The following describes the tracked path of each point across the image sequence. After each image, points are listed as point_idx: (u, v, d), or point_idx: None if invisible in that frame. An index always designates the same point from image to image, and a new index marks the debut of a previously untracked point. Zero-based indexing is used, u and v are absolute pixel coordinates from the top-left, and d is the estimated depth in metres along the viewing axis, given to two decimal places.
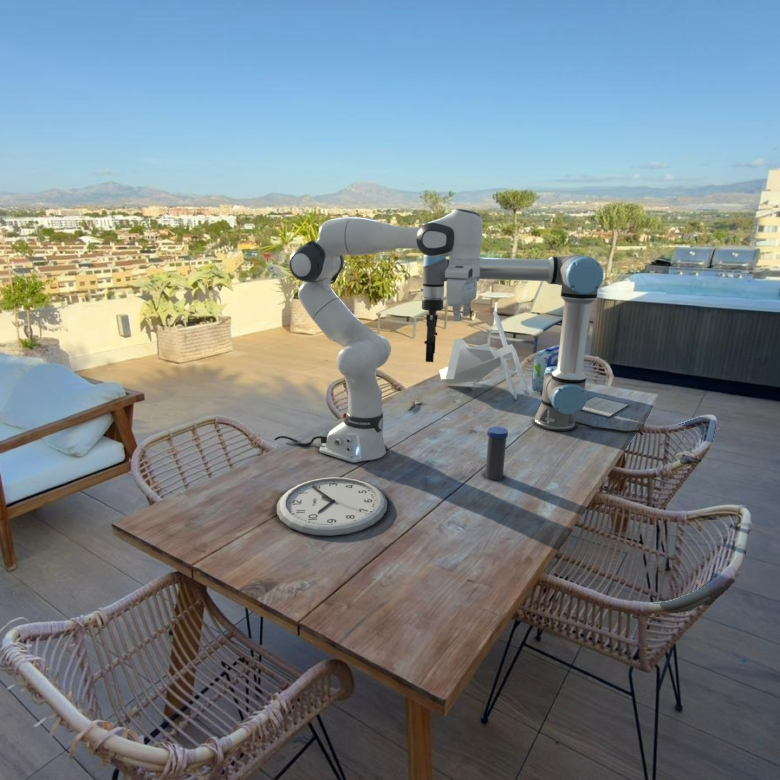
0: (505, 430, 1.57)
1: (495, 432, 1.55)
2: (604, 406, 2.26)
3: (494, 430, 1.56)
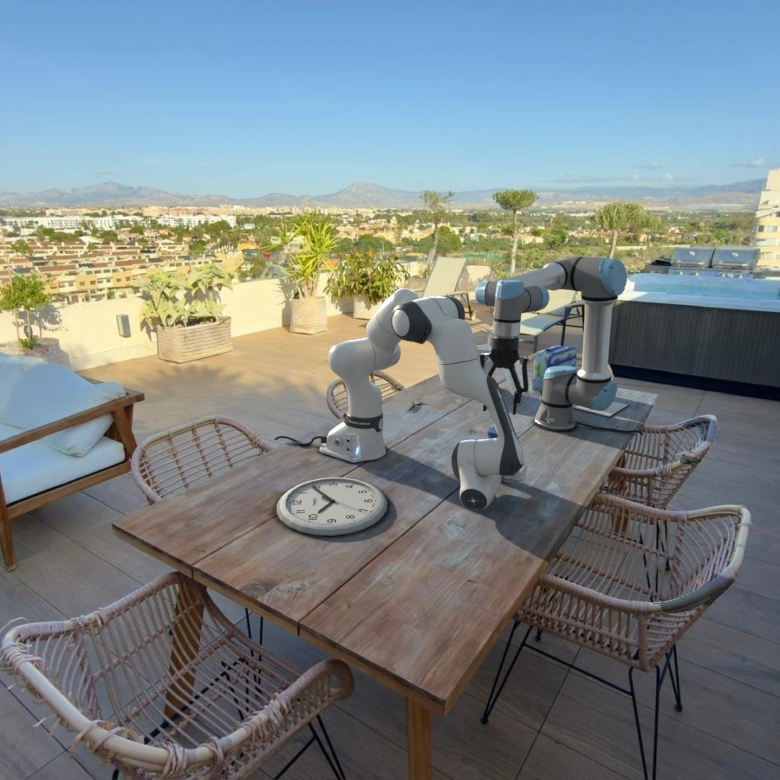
0: None
1: (495, 432, 1.55)
2: None
3: (494, 430, 1.56)
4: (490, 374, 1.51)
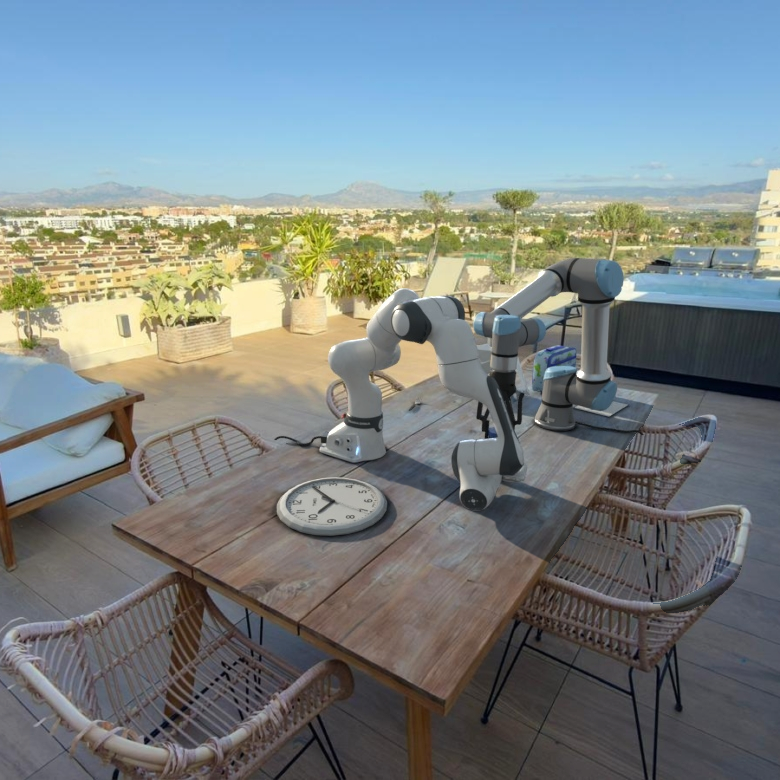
0: None
1: (495, 432, 1.55)
2: None
3: (494, 430, 1.56)
4: None
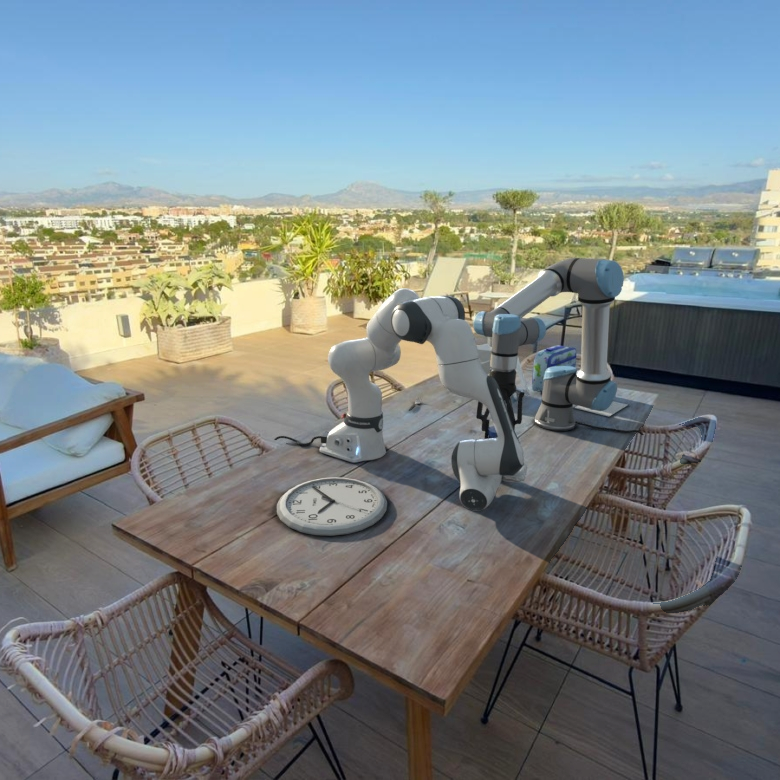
0: (492, 427, 1.58)
1: None
2: None
3: None
4: None
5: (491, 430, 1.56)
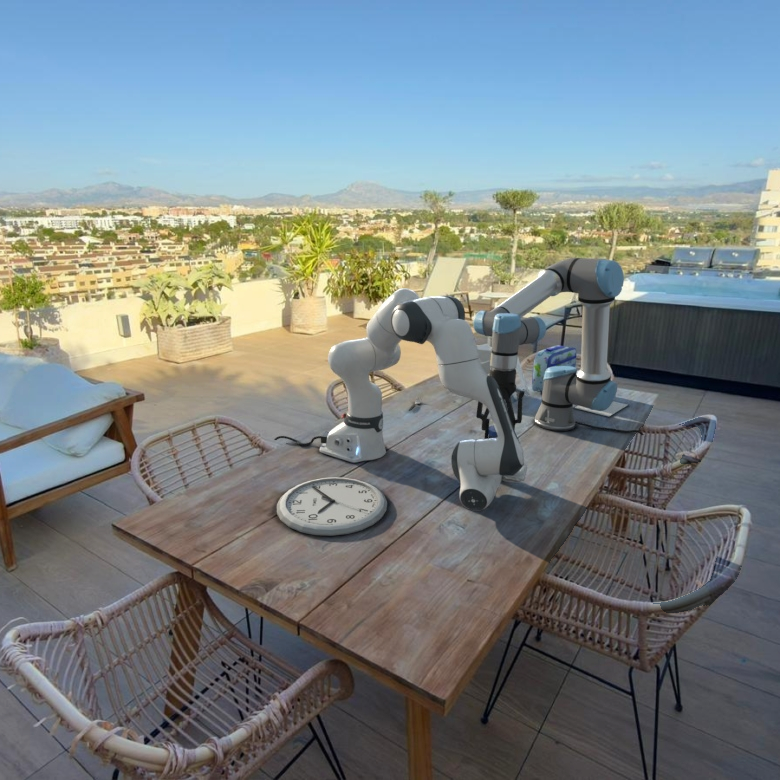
0: None
1: (492, 426, 1.58)
2: None
3: None
4: None
5: None
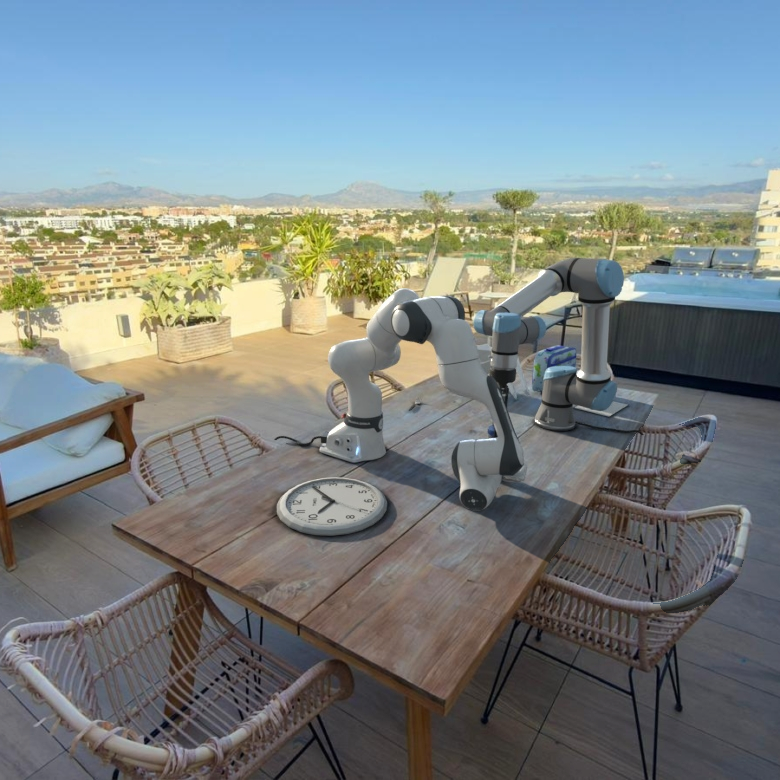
0: None
1: None
2: None
3: (494, 428, 1.56)
4: None
5: None
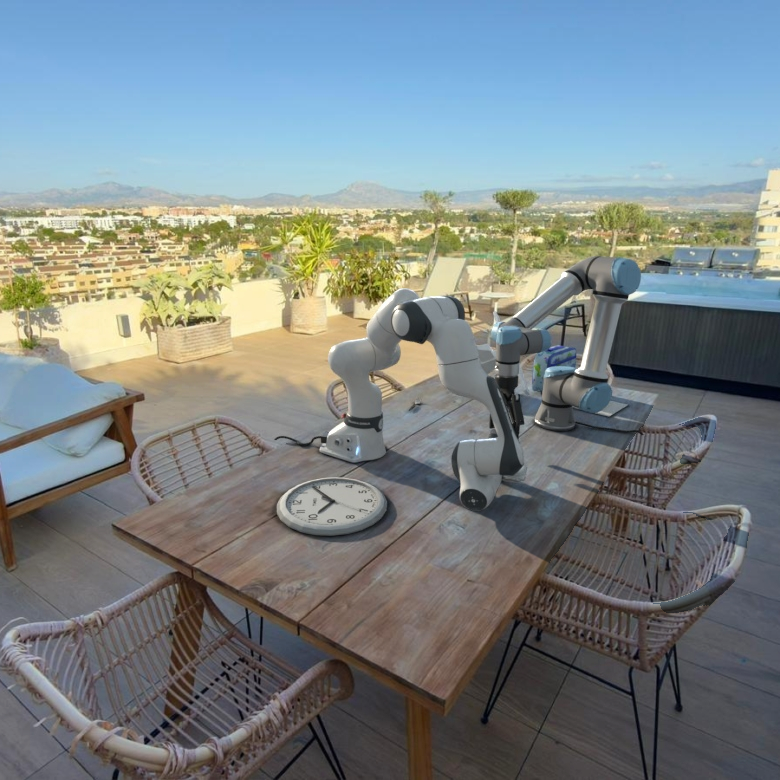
0: None
1: None
2: None
3: None
4: None
5: None
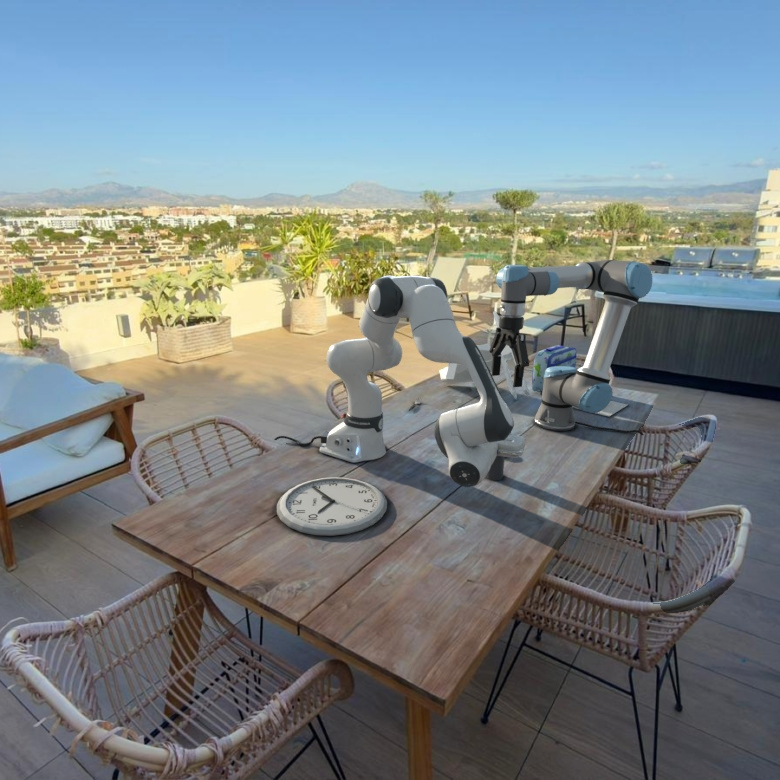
0: None
1: None
2: None
3: None
4: None
5: None
